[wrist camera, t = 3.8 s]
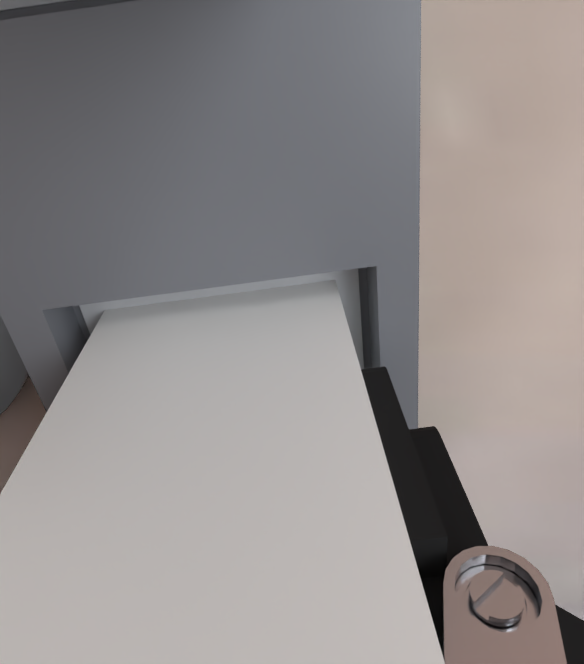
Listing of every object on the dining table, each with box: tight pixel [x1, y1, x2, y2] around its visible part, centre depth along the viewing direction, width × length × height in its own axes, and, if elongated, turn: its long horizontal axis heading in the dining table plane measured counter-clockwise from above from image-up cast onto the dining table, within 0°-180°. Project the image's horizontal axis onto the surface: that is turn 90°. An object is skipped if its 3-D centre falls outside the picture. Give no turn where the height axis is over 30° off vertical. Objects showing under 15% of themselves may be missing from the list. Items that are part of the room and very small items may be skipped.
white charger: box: [0, 280, 445, 664], centre depth 9 cm, size 5×5×8 cm
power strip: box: [0, 0, 421, 429], centre depth 10 cm, size 28×8×4 cm, turn 7°
